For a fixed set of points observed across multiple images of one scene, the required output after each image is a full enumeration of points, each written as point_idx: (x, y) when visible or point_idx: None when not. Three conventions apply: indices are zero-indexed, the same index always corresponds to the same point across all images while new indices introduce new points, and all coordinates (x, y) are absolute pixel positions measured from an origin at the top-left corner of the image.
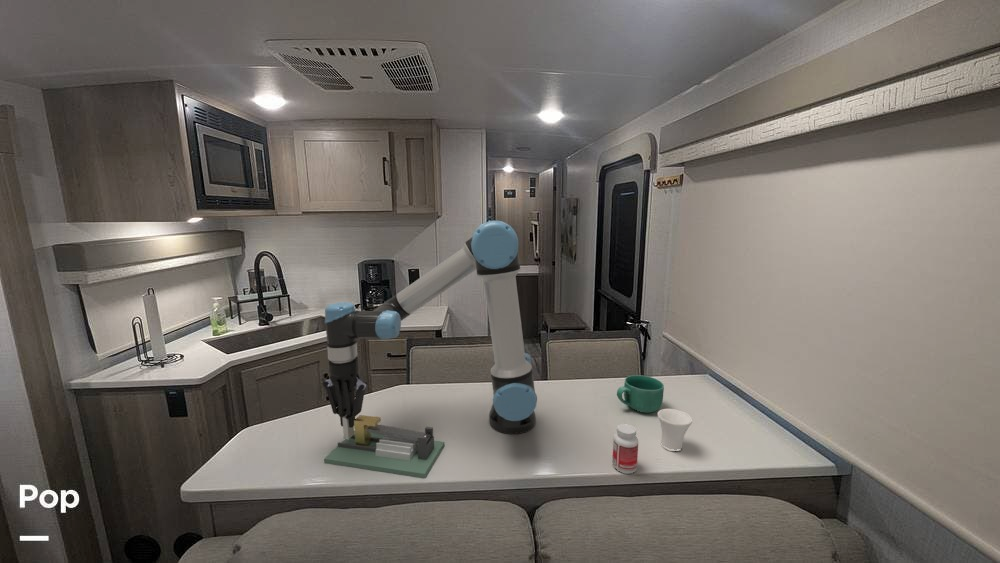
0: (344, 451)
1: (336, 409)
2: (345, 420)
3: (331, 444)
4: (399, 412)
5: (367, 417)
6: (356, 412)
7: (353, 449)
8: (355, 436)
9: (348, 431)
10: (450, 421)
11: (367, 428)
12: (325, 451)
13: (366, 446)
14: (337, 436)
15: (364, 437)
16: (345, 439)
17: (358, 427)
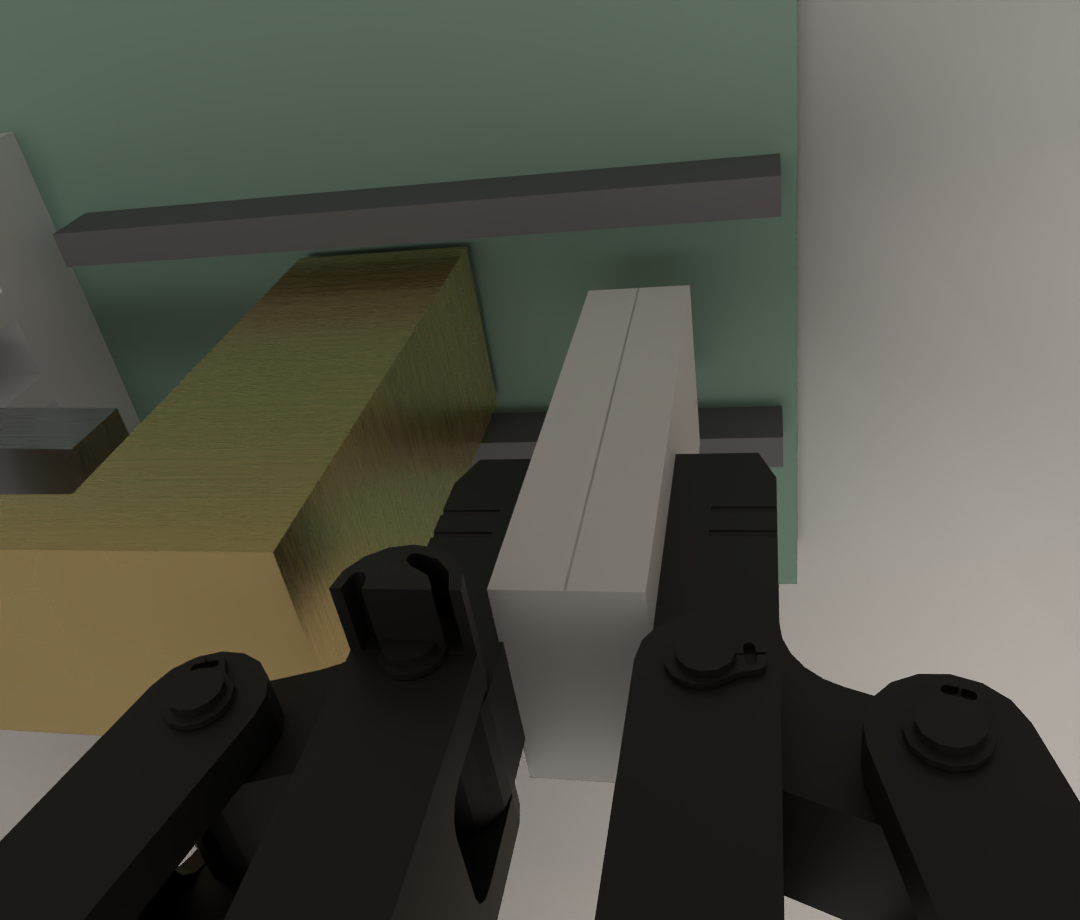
0: (554, 68)
1: (899, 840)
2: (554, 539)
3: (1019, 247)
4: (548, 911)
5: (104, 692)
6: (90, 758)
7: (449, 168)
8: (400, 327)
9: (564, 384)
10: (2, 827)
11: (68, 459)
12: (1011, 36)
13: (227, 245)
14: (1042, 447)
15: (224, 340)
16: (781, 364)
17: (236, 443)
